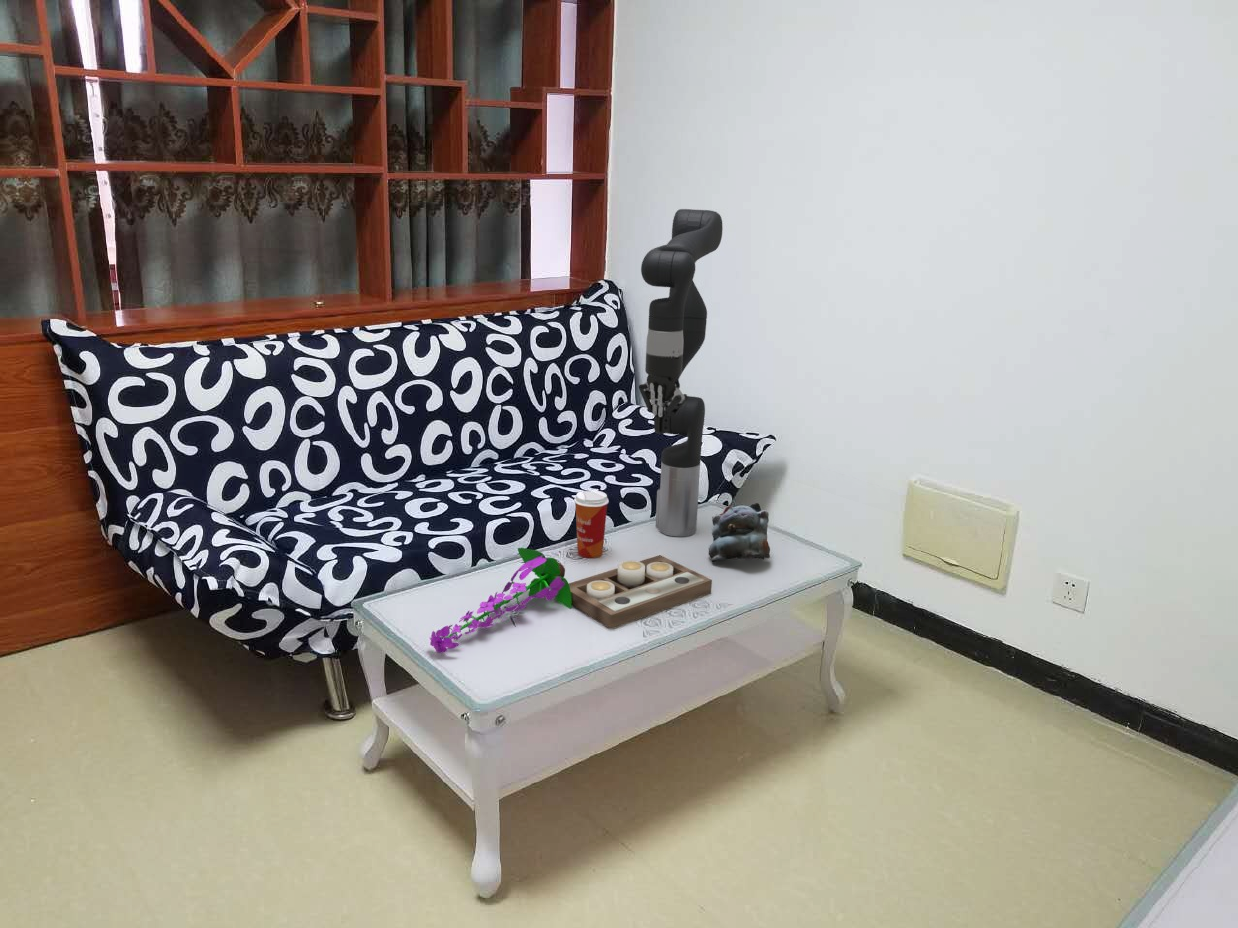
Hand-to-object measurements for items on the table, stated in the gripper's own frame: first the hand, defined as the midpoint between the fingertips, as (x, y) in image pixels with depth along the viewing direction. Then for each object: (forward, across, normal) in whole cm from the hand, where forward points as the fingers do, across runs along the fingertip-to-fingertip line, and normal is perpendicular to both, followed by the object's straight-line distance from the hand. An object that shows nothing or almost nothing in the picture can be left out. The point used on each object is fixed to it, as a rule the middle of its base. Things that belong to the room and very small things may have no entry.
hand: (660, 432), depth 202 cm
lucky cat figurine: (+31, +6, +19) cm, 37 cm away
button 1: (+30, +6, -20) cm, 37 cm away
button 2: (+30, +6, -4) cm, 31 cm away
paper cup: (+31, -15, -6) cm, 35 cm away
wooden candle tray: (+31, +8, -12) cm, 34 cm away
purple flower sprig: (+32, +2, -40) cm, 51 cm away
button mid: (+28, +6, -12) cm, 31 cm away
